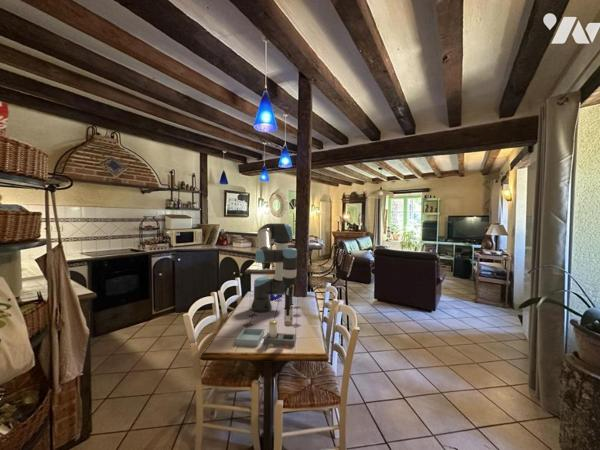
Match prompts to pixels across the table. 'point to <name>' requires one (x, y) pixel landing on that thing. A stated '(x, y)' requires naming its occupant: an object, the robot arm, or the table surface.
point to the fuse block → (281, 340)
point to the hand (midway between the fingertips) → (288, 319)
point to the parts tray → (250, 337)
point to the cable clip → (275, 297)
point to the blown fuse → (289, 323)
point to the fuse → (273, 329)
